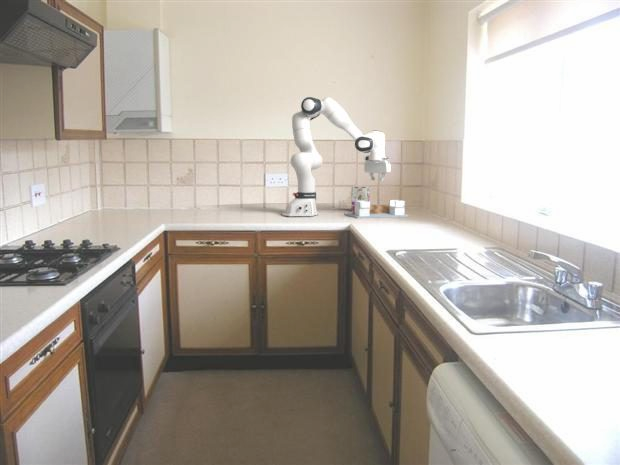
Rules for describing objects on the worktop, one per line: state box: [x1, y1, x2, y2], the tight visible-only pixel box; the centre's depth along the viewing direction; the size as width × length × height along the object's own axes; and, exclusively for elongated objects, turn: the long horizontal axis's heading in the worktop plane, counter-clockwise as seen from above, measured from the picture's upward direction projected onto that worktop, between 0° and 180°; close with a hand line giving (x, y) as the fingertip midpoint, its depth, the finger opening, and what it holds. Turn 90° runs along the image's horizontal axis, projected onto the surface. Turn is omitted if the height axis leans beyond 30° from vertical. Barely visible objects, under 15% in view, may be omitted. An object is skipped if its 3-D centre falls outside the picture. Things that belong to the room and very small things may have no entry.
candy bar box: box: [351, 186, 371, 213], centre depth 350 cm, size 11×5×16 cm, turn 73°
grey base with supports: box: [343, 199, 409, 219], centre depth 329 cm, size 34×20×10 cm, turn 109°
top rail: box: [352, 204, 390, 214], centre depth 333 cm, size 26×4×5 cm, turn 113°
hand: (377, 180), depth 327 cm, fingers open, 7 cm apart
